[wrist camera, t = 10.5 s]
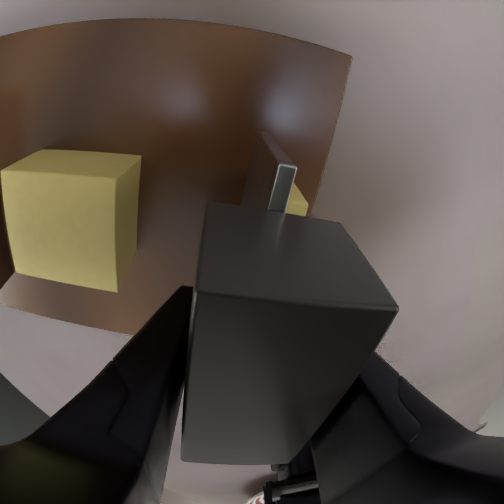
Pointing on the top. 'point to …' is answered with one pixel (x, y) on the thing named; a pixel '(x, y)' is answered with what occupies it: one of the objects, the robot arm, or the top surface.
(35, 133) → the cutting board
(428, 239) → the top surface
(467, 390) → the top surface
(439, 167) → the top surface
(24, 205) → the butter stick
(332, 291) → the dark grey block
